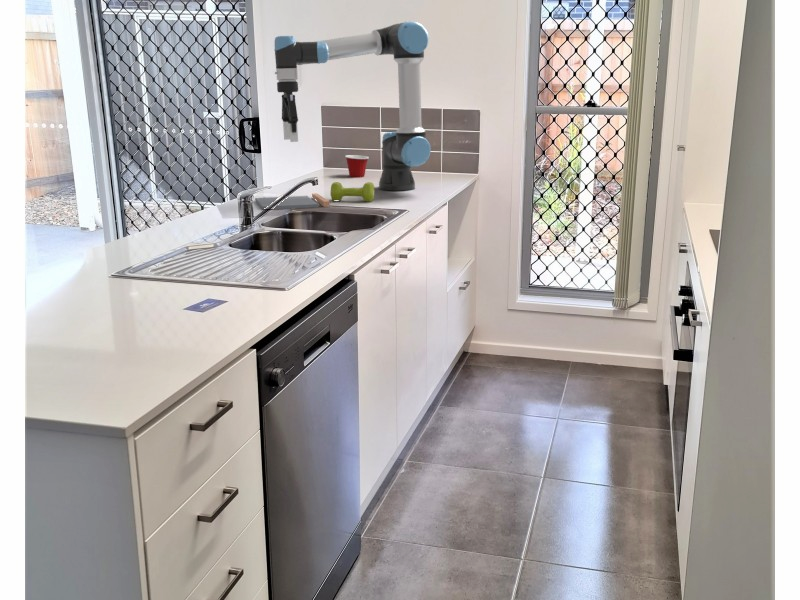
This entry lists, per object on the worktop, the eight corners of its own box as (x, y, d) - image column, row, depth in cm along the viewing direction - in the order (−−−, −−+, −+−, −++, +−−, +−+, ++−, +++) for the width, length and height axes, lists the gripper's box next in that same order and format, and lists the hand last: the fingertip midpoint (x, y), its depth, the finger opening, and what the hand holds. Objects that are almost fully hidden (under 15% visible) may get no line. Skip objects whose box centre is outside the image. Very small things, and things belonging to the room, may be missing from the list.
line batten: (317, 198, 307) (317, 193, 306) (329, 206, 285) (329, 201, 284) (312, 198, 306) (312, 193, 306) (324, 207, 284) (323, 201, 283)
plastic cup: (363, 183, 353) (362, 156, 350) (341, 183, 357) (341, 156, 354) (373, 181, 363) (372, 155, 359) (352, 180, 367) (351, 154, 364)
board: (307, 198, 306) (307, 195, 305) (318, 207, 283) (318, 204, 283) (255, 201, 300) (255, 198, 300) (263, 210, 278) (262, 206, 278)
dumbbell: (375, 200, 302) (375, 181, 300) (372, 203, 294) (372, 183, 292) (333, 199, 304) (333, 181, 302) (329, 202, 296) (328, 183, 295)
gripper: (271, 81, 295) (275, 139, 300) (282, 80, 272) (286, 143, 277) (291, 81, 297) (295, 138, 303) (303, 80, 274) (307, 142, 280)
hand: (290, 140), depth 290 cm, fingers open, 13 cm apart
